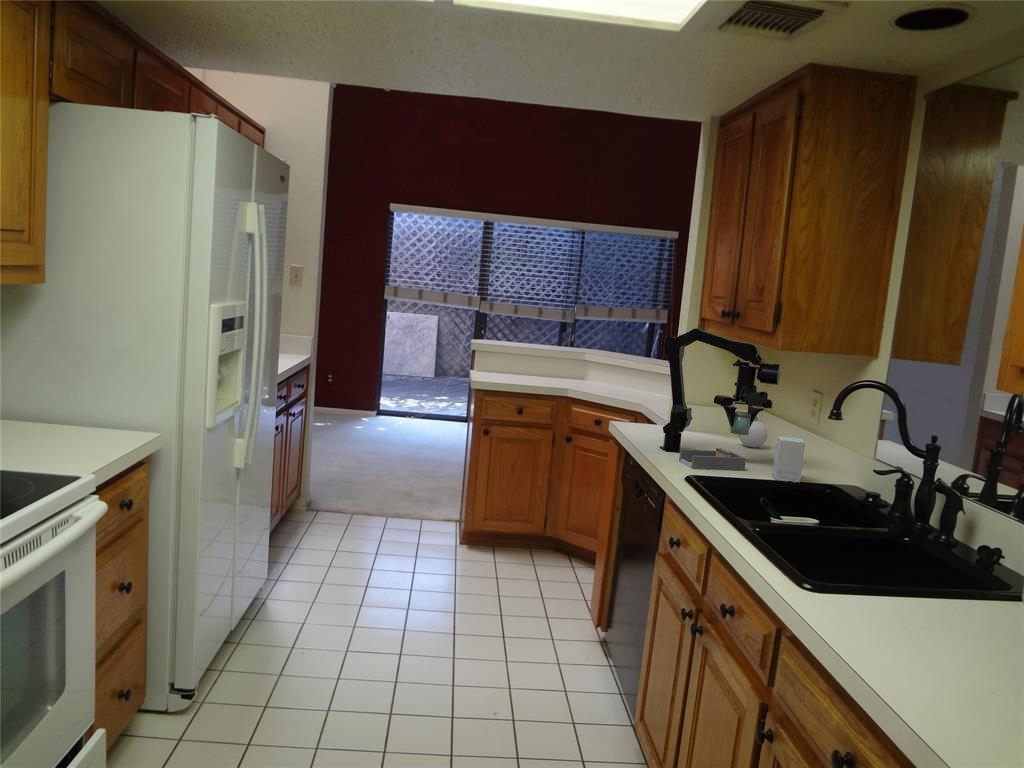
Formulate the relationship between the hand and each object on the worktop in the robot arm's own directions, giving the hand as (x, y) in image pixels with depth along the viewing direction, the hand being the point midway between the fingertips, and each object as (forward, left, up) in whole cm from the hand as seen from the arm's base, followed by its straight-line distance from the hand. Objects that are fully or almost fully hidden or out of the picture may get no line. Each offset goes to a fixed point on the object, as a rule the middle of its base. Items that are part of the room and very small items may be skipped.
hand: (740, 427), depth 254 cm
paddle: (+8, -9, -12) cm, 17 cm away
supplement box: (+22, +5, -12) cm, 26 cm away
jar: (0, 0, -2) cm, 2 cm away
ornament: (-26, +21, -12) cm, 36 cm away
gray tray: (+8, -13, -12) cm, 19 cm away
